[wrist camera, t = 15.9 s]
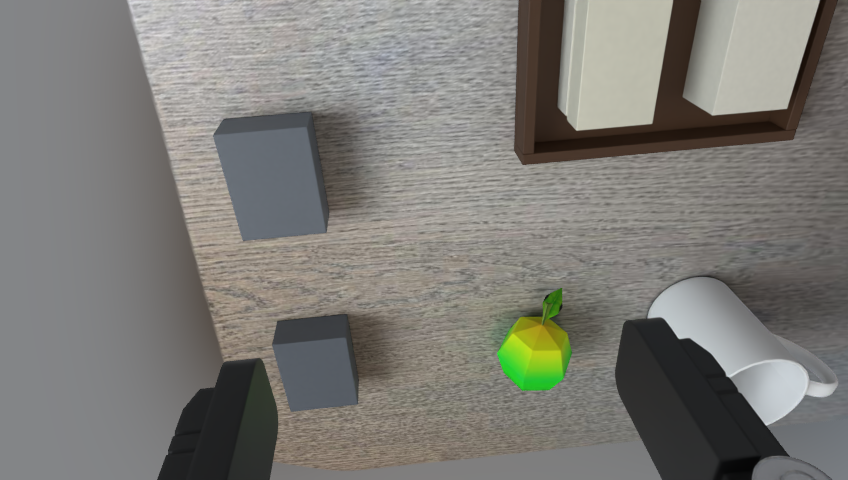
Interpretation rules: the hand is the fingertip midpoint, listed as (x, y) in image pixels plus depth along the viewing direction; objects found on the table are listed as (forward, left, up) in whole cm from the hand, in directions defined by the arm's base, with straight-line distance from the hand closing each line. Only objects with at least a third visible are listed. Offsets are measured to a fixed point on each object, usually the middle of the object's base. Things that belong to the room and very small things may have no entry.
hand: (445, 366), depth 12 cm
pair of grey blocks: (+16, -9, -28) cm, 34 cm away
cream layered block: (0, +14, -28) cm, 31 cm away
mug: (+25, +27, -28) cm, 46 cm away
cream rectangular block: (0, +23, -28) cm, 36 cm away
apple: (+24, +10, -28) cm, 38 cm away
